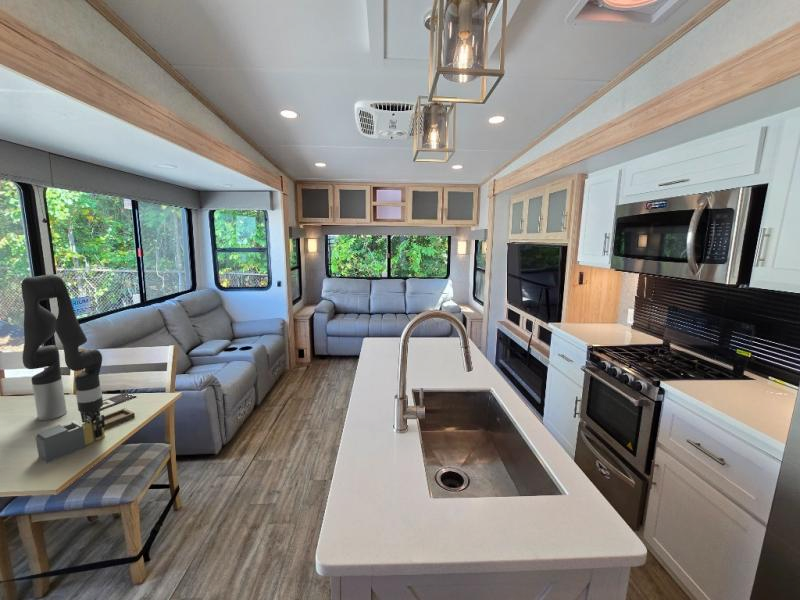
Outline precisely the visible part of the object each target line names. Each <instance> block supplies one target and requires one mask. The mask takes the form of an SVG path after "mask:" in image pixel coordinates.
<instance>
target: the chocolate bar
mask: <svg viewBox="0 0 800 600" xmlns="http://www.w3.org/2000/svg"><path fill="white" fill-rule="evenodd" d="M128 394H132V393H130V392H127V391H126V392H123V393H121V394H117V395H115V396H112V397H109V398H106V399H103V406H102V407H101V408H100V409H99V411H102V410H103V411H104V410H106V409H108V408H110V407H114V406H116V405H119V404H121V403H124V401H125V402H127V401H129V399H130V400H132V398H133V399H136V398H137V397H136V396H137V395H136V396H132V395H128ZM126 396H127V397H126ZM129 396H130V397H129ZM126 400H127V401H126ZM113 405H114V406H113Z"/></svg>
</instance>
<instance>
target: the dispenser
mask: <svg viewBox="0 0 800 600" xmlns="http://www.w3.org/2000/svg"><path fill="white" fill-rule="evenodd" d="M81 424H82V423H80V422H78V421H75V420H73V421H71V422H70V423H67V424H65V425H61V424H57V425H54V426H52V427H49V428H46V429H43V430H40V431H37V432H36V435H34V436H35V438H34V439H35V442H36V443H35V444H36V449H37V454H38V458H39V459H41V460H42V461H43V462H45V463H46V464H48V463H51V462H53V461H55V460H57V459H58V460H59V459H60V458H63V457H65V456H67V455H70V454H71V453H74V452H76V451H79V450H81V449H83V448H86V447H87V444H86V445H85V438H84V431H83V425H81ZM76 426H77V427H76Z"/></svg>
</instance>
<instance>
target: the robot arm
mask: <svg viewBox="0 0 800 600" xmlns="http://www.w3.org/2000/svg"><path fill="white" fill-rule="evenodd" d="M21 296H22V301H23V309H24V311H23V312H24V316H23V336H24V337H23V338H24V341H23V343H24V344H23V349H22V364H23V366H24V367H25V369H28V370H37V369H41V368H46V369H44V370H42V371H40V372H39V373H37V374H35V375H33V376H32V377H31V385H32V390H33V396H34V397H33V398H34V402H35V408H36V415H37V419H38V420H39V421H50V420H52V419H57V418H60V417H62V416H64V415H65V414H67V411H68V410H67V404H66V403H67V402H66V398H65V391H64V384H63V378H62V371H61V370H62V369H61V360H60V352H59V348H58V347H57V346H56V345H55V344H51V345H44V344H45V343H46V342H47V341H49V339H51V338H52V337H53V336H54V334H55V333H56V334H57V337H58V338H59V340H60V343H61V344H62V346H63V355H64V362H65V366H66V367H67V368H68V369H69V370H71V371H75V372H79V371H82V372H81V373H79V374H77V375H76V376H75V378H74V383H75V389H76V391H75V392H76V396H75V397H76V404H77V409H78V411H79V412H80V417H81V422H82V424H84V423H85V424H87V423H90V425H92V426H93V428H94V434H95V438H98V437H101V436H102V428H104V427H105V423H104V416H105V414H101V412H100V411H101V410H100V411H99V409H100V408H101V407H102V406H103V400H104V398H103V392H102V388H101V382H100V373H101V368H102V363H103V355H102V353H101V350H98V349H96V348H88V349H85V350H81V351H79V347H80V346H83V345H85V344H86V343H87V341H88V339H87V336H86V334H85V332H84V330H83V329H82V326H81V325H80V323H79V320H78V318H77V316H76V312H75V309H74V306H73V303H72V300H71V296H70V293H69V291H68V288H67V285H66V282H64V280H63V278H62V277H61V276H59V275H58V274H53V273H52V274H44V275H38V276H30V277H25V278H24V279H22V281H21ZM55 298H57V301H58V304H59V308H58V309H59V310H58V314H57V317H56V315H55V314H54V313H53V312H51V310H50V311H49V310H48V309H46V308H44V306H41V304H40V302H41V301H44V300H51V299H55ZM42 345H44V346H42ZM94 421H95V422H94ZM93 422H94V423H93ZM95 424H96V425H95Z"/></svg>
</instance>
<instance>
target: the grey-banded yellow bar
mask: <svg viewBox="0 0 800 600" xmlns="http://www.w3.org/2000/svg"><path fill="white" fill-rule="evenodd" d="M94 422H95V421H94ZM94 422H93V423H94ZM95 425H96V424H95ZM83 431H84V438H85V445H86V446H87V445H89V444H91V443H93V442H96V441H98V440H101V439H103V438H105V437H106V436H105V435H106V434H105V430H104V428H102V436H101V437H98V438H95V434H94V428H93V426H92V425H90V423H87V424H85V425H83Z"/></svg>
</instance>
